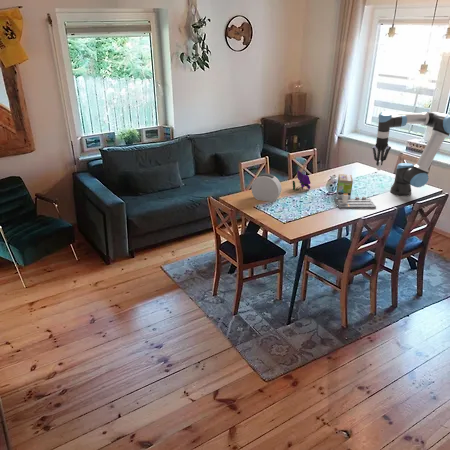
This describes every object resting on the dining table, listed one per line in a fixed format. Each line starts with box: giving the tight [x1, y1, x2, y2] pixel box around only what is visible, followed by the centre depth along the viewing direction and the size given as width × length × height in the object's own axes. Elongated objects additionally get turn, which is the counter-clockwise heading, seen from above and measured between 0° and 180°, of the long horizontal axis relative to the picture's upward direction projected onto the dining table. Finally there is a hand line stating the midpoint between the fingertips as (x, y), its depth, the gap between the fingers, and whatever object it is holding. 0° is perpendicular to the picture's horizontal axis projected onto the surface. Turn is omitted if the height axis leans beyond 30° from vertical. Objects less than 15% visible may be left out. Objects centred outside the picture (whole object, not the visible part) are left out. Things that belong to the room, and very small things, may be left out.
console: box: [334, 196, 377, 210], centre depth 307 cm, size 26×15×3 cm, turn 89°
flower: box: [292, 170, 312, 192], centre depth 333 cm, size 15×15×14 cm
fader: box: [342, 194, 348, 203], centre depth 306 cm, size 3×3×7 cm
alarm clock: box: [251, 173, 283, 203], centre depth 314 cm, size 21×8×20 cm, turn 65°
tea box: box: [336, 173, 354, 199], centre depth 321 cm, size 15×10×15 cm, turn 168°
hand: (378, 169), depth 299 cm, fingers closed
